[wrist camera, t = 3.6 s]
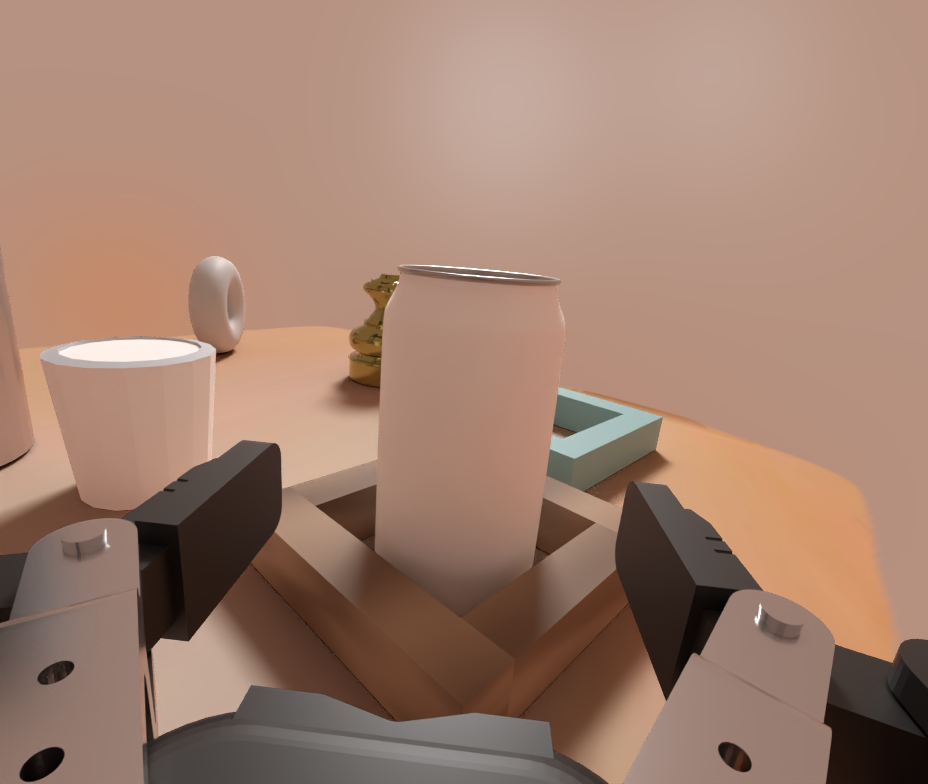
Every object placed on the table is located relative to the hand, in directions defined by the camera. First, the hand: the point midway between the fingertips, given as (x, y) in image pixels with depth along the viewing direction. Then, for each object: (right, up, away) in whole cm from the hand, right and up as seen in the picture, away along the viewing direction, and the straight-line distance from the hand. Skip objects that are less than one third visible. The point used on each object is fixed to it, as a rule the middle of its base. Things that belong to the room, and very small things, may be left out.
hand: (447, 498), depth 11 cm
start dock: (0, -5, +9) cm, 10 cm away
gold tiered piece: (-7, +4, +36) cm, 37 cm away
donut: (-26, +7, +41) cm, 49 cm away
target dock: (+6, -1, +24) cm, 24 cm away
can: (0, -5, +9) cm, 10 cm away
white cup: (-16, -2, +14) cm, 21 cm away
